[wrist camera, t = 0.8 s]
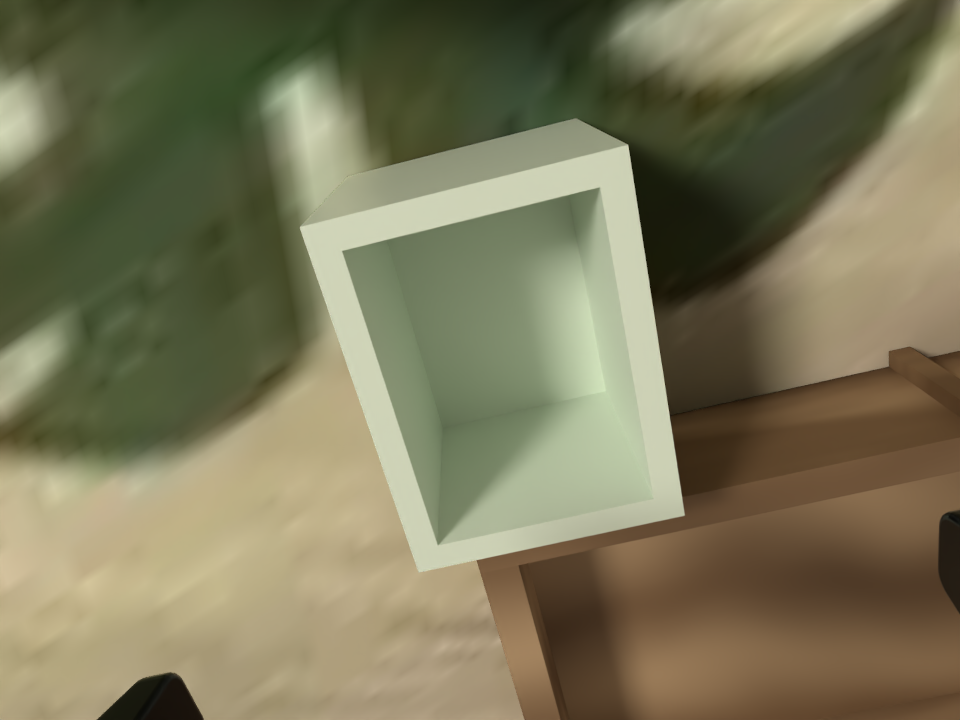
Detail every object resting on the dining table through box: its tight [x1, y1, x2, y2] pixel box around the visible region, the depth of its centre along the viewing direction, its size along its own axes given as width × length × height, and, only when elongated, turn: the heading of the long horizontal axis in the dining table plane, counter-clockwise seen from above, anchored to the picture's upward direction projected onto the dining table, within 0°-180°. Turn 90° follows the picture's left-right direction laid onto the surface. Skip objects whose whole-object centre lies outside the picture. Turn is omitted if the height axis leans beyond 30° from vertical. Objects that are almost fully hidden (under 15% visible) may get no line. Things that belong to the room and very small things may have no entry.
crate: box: [477, 347, 960, 720], centre depth 22 cm, size 14×18×4 cm
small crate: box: [300, 118, 685, 572], centre depth 17 cm, size 8×6×6 cm
